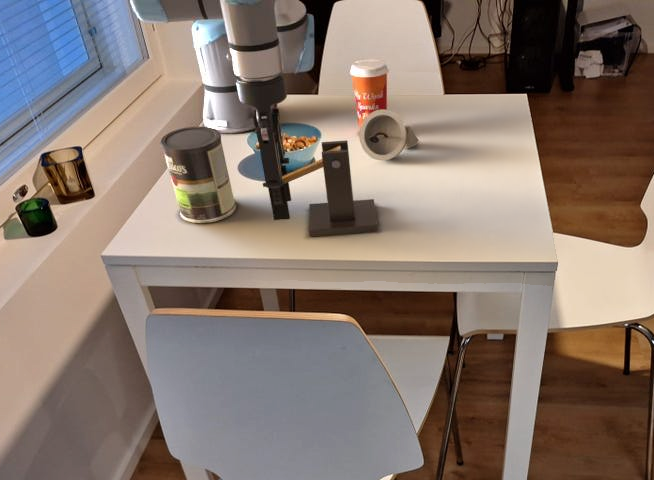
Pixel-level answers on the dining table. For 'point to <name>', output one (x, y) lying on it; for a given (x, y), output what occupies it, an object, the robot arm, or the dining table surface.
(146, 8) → the robot arm
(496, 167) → the dining table surface
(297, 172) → the switch lever
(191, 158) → the coffee can
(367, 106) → the coffee cup
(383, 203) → the dining table surface
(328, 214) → the stand
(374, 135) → the light fixture
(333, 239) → the dining table surface
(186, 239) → the dining table surface
